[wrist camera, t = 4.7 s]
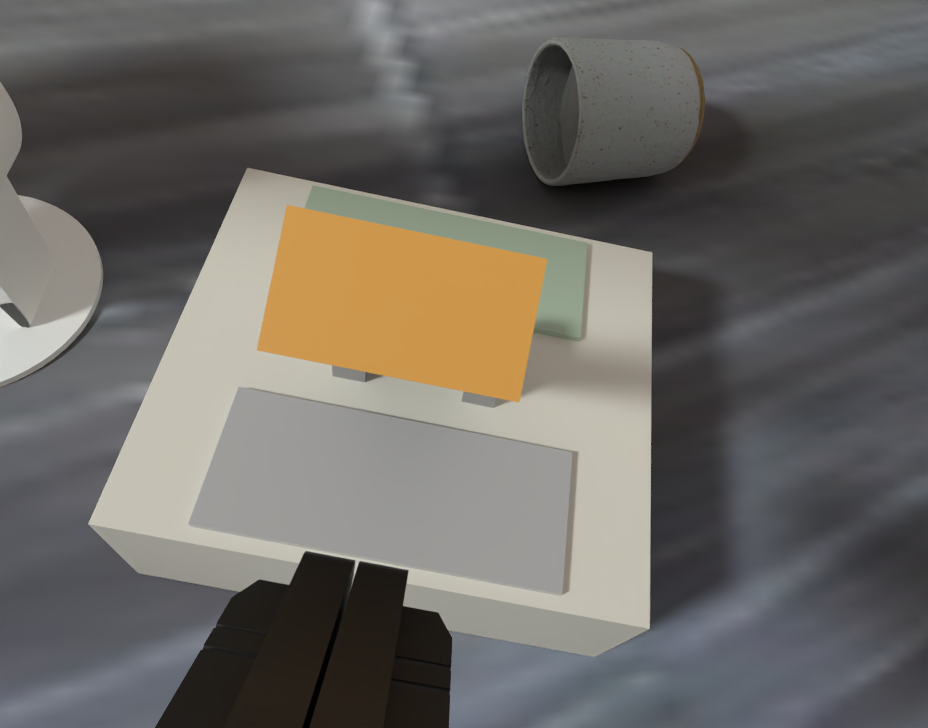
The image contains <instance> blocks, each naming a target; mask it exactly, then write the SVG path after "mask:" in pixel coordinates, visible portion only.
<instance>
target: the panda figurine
mask: <svg viewBox="0 0 928 728" xmlns="http://www.w3.org/2000/svg"><path fill="white" fill-rule="evenodd" d="M21 143H22V129H21V123H20V119H19V116H18V113H17V110H16V108H15V106H14V104H13V102H12V100H11V98H10V96H9V95H8V93H7V91H6V90H5V88H4V87H3V85H2V84H1V82H0V387H2V386H5V385H7V384H10V383H12V382H15V381H17V380H19V379H21V378H23V377H25V376H27V375H29V374H31V373H33V372H34V371H36V370H38V369H39V368H41V367H43V366H44V365H46V364H47V363H48V362H50V361H51V360H53V359H54V358H55V357H57V356H58V355H59V354H60V353H61V352H63V351H64V350H65V349H66V348H67V347H68V346H69V345H70V344H71V343H72V342H73V341H74V340H75V339H76V338H77V337H78V336H79V334H80V333H81V332H82V331H83V329H84V328H85V326H86V325H87V324H88V322H89V321H90V319H91V317H92V315H93V313H94V312H95V309H96V307H97V305H98V302H99V299H100V295H101V292H102V286H103V266H102V261H101V257H100V255H99V252H98V249H97V247H96V245H95V243H94V241H93V239H92V237H91V236H90V235H89V233H88V232H87V230H86V229H85V228H84V227H83V226H82V225H81V224H80V223H79V222H78V221H77V220H76V219H75V218H73V217H72V216H71V215H69V214H68V213H66V212H65V211H63V210H61V209H59V208H58V207H56V206H54V205H51V204H49V203H46V202H44V201H41V200H37V199H34V198H30V197H26V196H21V195H17V193H16V192H15V190H14V188H13V186H12V184H11V183H10V181H9V179H8V177H7V174H8V172H9V170H10V169H11V167H12V165H13V163H14V161H15V159H16V157H17V155H18V153H19V151H20V148H21Z"/></svg>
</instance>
